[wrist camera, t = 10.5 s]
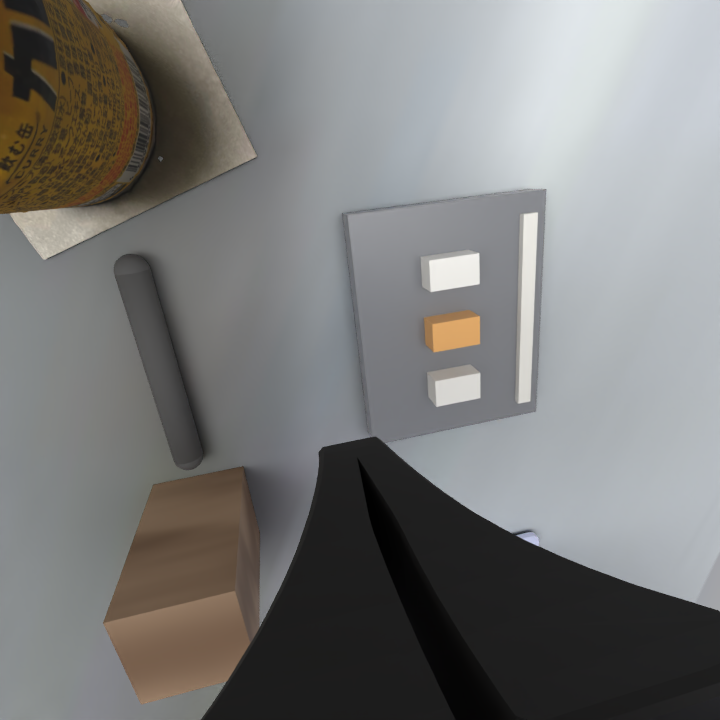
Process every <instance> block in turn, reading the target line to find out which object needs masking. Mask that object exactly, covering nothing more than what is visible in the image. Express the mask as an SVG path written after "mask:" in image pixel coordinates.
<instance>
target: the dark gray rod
mask: <svg viewBox="0 0 720 720" xmlns="http://www.w3.org/2000/svg"><path fill="white" fill-rule="evenodd" d="M114 274H115V278H116V281H117V284H118V287H119V290H120V293H121V296H122V300H123V303H124V306H125V309H126V312H127V315H128V318H129V321H130V325H131V328H132V331H133V334H134V337H135V340H136V343H137V347H138V350H139V353H140V356H141V359H142V362H143V365H144V368H145V372H146V375H147V378H148V381H149V384H150V387H151V390H152V394H153V397H154V400H155V403H156V406H157V409H158V412H159V416H160V419H161V422H162V425H163V428H164V431H165V434H166V437H167V441H168V444H169V447H170V450H171V453H172V456H173V459H174V462H175V464H176V465H177V466H178V467H179V468H181V469H183V470H191V469H194V468H196V467H197V466H198V465H199V464H200V463H201V461H202V459H203V451H202V447H201V444H200V440H199V437H198V433H197V430H196V426H195V423H194V419H193V416H192V412H191V409H190V405H189V402H188V398H187V395H186V391H185V388H184V384H183V381H182V377H181V374H180V370H179V367H178V363H177V360H176V357H175V353H174V350H173V346H172V343H171V339H170V336H169V332H168V329H167V325H166V322H165V318H164V315H163V311H162V308H161V304H160V301H159V297H158V294H157V290H156V287H155V283H154V280H153V276H152V273H151V269H150V267H149V265H148V263H147V262H146V261H145V259H143V258H142V257H140V256H138V255H134V254H128V255H124V256H122V257H120V258H119V259H118V260H117V261H116V263H115V265H114Z"/></svg>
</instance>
